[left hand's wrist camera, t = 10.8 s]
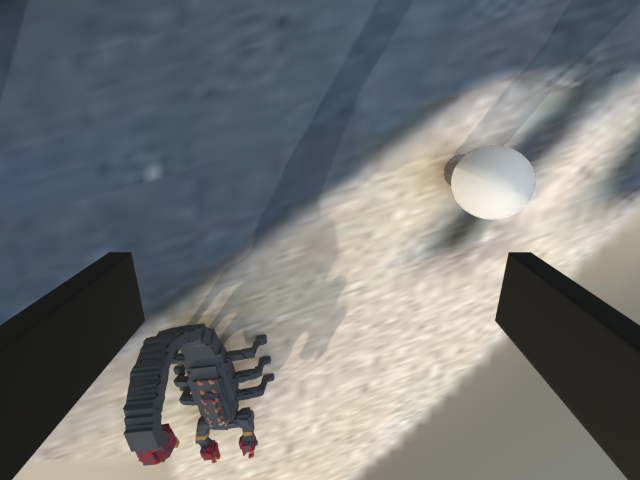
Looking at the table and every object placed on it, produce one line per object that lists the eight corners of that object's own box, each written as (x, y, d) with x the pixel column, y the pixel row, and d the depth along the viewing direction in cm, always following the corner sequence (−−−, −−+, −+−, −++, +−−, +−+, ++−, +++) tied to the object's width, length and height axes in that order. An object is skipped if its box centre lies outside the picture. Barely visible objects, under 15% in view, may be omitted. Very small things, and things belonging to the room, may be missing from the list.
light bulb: (422, 187, 40) (458, 214, 30) (452, 129, 38) (501, 137, 27) (473, 209, 41) (525, 242, 30) (505, 154, 39) (573, 170, 28)
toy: (253, 274, 44) (209, 380, 27) (286, 433, 53) (270, 588, 36) (148, 286, 44) (40, 397, 27) (199, 441, 53) (142, 598, 36)
